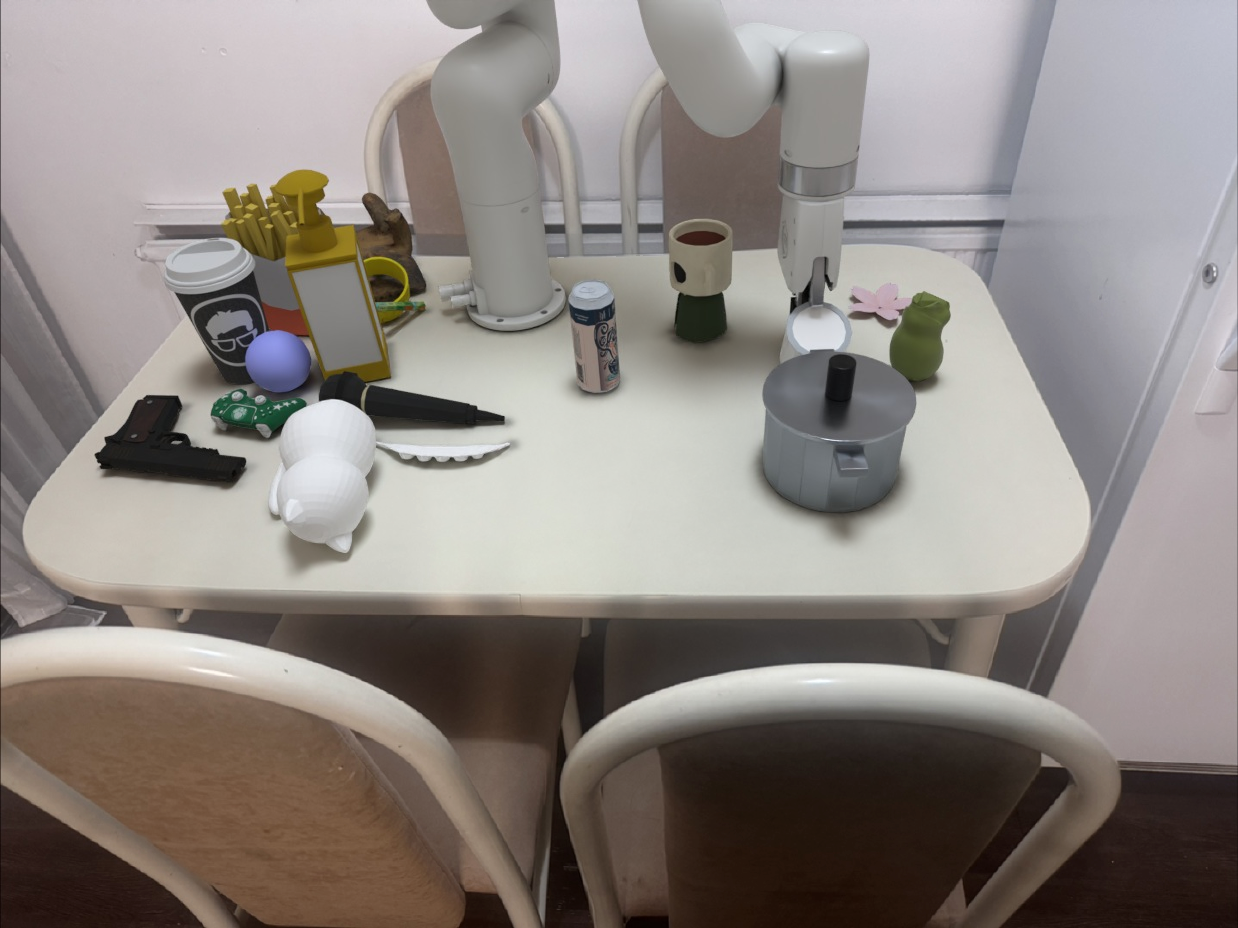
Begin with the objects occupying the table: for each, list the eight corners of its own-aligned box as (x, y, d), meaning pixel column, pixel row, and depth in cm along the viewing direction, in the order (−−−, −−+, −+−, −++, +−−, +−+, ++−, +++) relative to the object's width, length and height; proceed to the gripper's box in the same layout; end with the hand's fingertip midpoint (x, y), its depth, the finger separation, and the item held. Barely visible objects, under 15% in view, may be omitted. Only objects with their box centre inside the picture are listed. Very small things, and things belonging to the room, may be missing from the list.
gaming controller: (298, 382, 94) (269, 422, 90) (311, 406, 97) (283, 446, 93) (226, 371, 96) (195, 410, 92) (241, 395, 99) (211, 434, 95)
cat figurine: (405, 420, 87) (387, 543, 77) (323, 472, 92) (298, 593, 83) (333, 370, 81) (304, 495, 72) (251, 429, 87) (214, 552, 77)
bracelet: (385, 317, 106) (388, 332, 109) (420, 273, 110) (421, 288, 113) (334, 291, 107) (337, 307, 110) (370, 247, 110) (373, 264, 113)
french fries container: (339, 337, 107) (295, 199, 95) (258, 335, 109) (204, 199, 97) (353, 318, 111) (312, 182, 99) (273, 316, 112) (223, 182, 100)
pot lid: (770, 453, 74) (773, 411, 71) (755, 363, 85) (757, 322, 82) (931, 448, 74) (941, 405, 71) (896, 358, 84) (903, 317, 81)
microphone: (512, 394, 95) (334, 369, 96) (502, 392, 89) (313, 366, 90) (505, 443, 95) (328, 418, 96) (496, 444, 90) (307, 418, 90)
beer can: (615, 397, 95) (608, 302, 87) (573, 394, 96) (562, 299, 88) (624, 372, 98) (617, 278, 90) (583, 369, 99) (573, 276, 91)
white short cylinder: (773, 329, 97) (786, 298, 90) (835, 333, 97) (851, 302, 90) (773, 385, 95) (786, 357, 88) (836, 389, 95) (853, 361, 88)
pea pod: (502, 452, 86) (504, 467, 86) (510, 436, 90) (511, 450, 91) (355, 451, 87) (357, 466, 87) (369, 436, 91) (371, 450, 92)
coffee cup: (307, 352, 105) (266, 238, 96) (258, 397, 99) (210, 281, 89) (242, 341, 108) (197, 230, 98) (191, 385, 101) (137, 270, 92)
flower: (818, 303, 107) (819, 292, 106) (879, 279, 111) (880, 268, 110) (874, 339, 100) (876, 327, 99) (937, 312, 104) (939, 301, 103)
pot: (773, 535, 78) (779, 464, 72) (754, 412, 91) (758, 345, 86) (915, 532, 77) (932, 460, 72) (875, 409, 91) (887, 340, 85)
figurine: (380, 177, 123) (425, 235, 110) (397, 225, 129) (442, 286, 115) (290, 210, 120) (325, 274, 107) (311, 258, 126) (347, 324, 112)
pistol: (290, 420, 96) (232, 489, 87) (150, 405, 99) (79, 471, 90) (284, 403, 95) (225, 471, 86) (142, 388, 98) (70, 453, 88)
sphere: (333, 375, 99) (287, 369, 93) (292, 405, 102) (245, 401, 95) (310, 323, 101) (263, 314, 94) (271, 354, 103) (222, 347, 97)
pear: (875, 374, 95) (889, 294, 89) (907, 355, 98) (922, 276, 91) (917, 396, 92) (934, 315, 85) (948, 377, 94) (967, 296, 88)
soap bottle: (328, 417, 95) (256, 215, 79) (326, 355, 104) (262, 164, 89) (394, 403, 96) (336, 202, 81) (386, 344, 105) (333, 153, 90)
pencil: (322, 299, 95) (422, 299, 111) (316, 306, 96) (417, 304, 112) (328, 309, 95) (428, 307, 111) (322, 315, 95) (422, 312, 112)
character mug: (663, 313, 107) (660, 214, 99) (719, 306, 108) (721, 207, 99) (679, 361, 99) (678, 259, 91) (740, 354, 100) (744, 251, 91)
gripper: (768, 145, 91) (761, 299, 103) (791, 207, 80) (780, 371, 92) (840, 140, 91) (824, 295, 103) (873, 201, 79) (852, 366, 91)
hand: (804, 330), depth 97 cm, fingers closed
